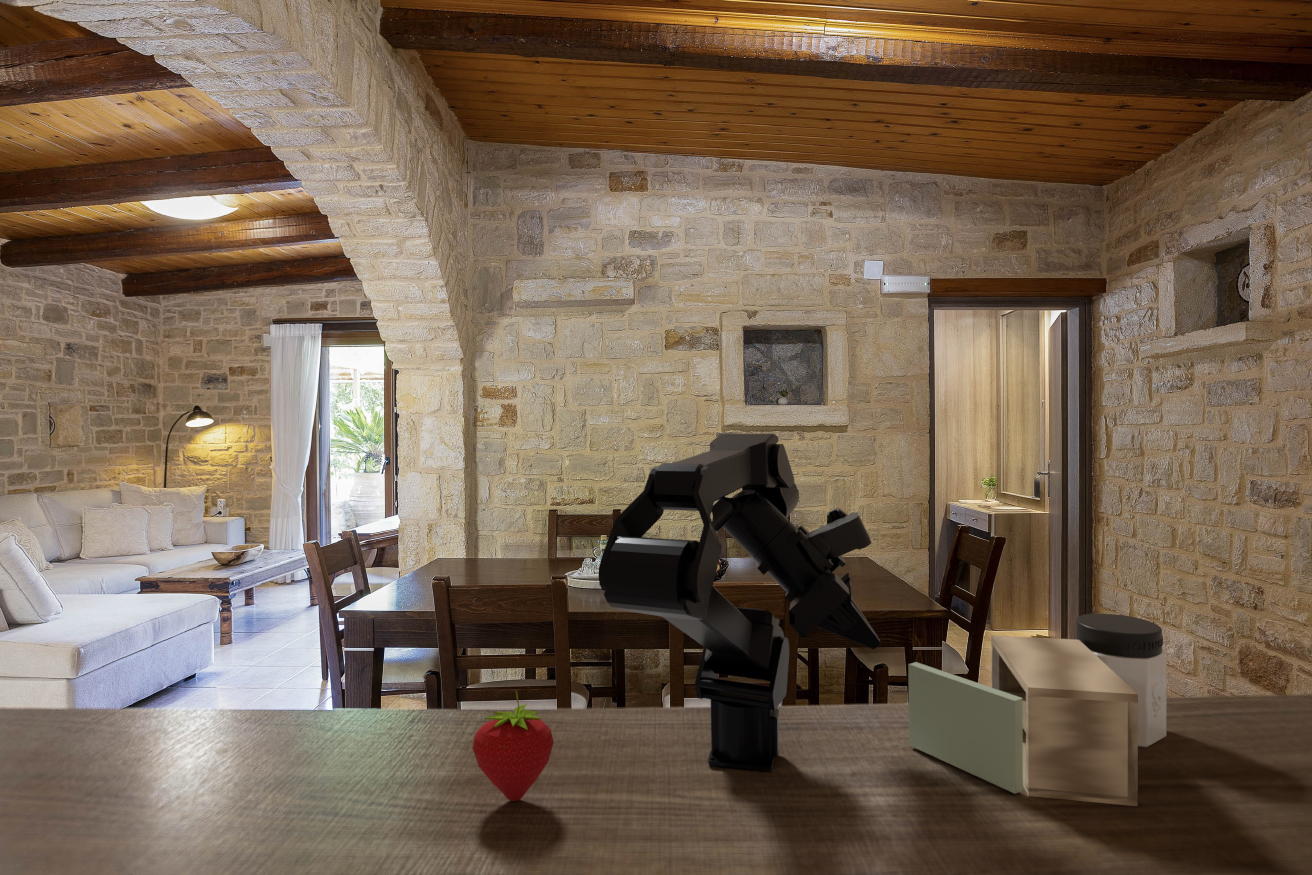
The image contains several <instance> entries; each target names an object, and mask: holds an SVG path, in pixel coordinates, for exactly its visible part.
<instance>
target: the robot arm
mask: <svg viewBox="0 0 1312 875" xmlns="http://www.w3.org/2000/svg"><path fill="white" fill-rule="evenodd" d="M738 490H741V491H739V492H737V493H735V494H734V495H733V496H732V497H727V496H729V495H730V494H733V493H734V492H736V491H738ZM799 499H800V491H799V489H798V487H797V484H796V483H795V478H794V474H793V471H792V466H791V464H790V460H789V457H788V454H787V450H786V447H785V445H784V443H779V437H778V435H777V434H775V433H721V434H719V435H717V437H715V438H714V439H713V440H711V442H710V443H709V451H705V452H701V453H700V454H696V455H693V456H689V457H687V458H685V459H680V460H678V461H675V462H668V463H667V462H662V463H661V464H660V465H655V466H653V467H652V468H651V469H650V472H649V474H648V477H647V480H646V483H645V486H644V489H643V491H642V492H641V493H640V494H639V495H638V496H637V497H636V498H635V499H634V500H633V501H632V502H631V503H629V505H628V506H627V507H626V508H625V509H624V510H623V511H622V512H621V513H620V514H619V515H618V516H617V517H616V519H615V520H614V522H613V524H612V527H611V530H610V533H609V536H608V539H607V541H606V545H605V546H604V550H603V553H602V556H601V559H600V561H599V567H598V583H599V586H600V588H601V591H602V592H603V594H602V595H603V597H604V599H605V601H606V603H607V604H608V605H609V606H610V607H611V608H613V609H615V610H621V611H626V612H630V613H637V614H642V615H643V614H645V615H651V616H657V617H661V618H663V619H665V620H666V621H667V622H669V623H670V624H672V626H674V627H675V628H677V629H678V630H680V631H681V632H682V633H684V634H685V635H687V636H689V637H690V638H691V639H693V640H694V641H695V642H697V643H698V644H699V645H701V646H703V647H702V653H701V656H700V657H701V658H700V661H699V665H698V669H697V672H696V676H695V679H694V680H695V681H694V687H695V688H694V689H695V692H696V699H700V700H703V699H705V700H710V747H711V748H710V753H709V755H708V758H707V764H708V765H709V766H713V767H724V768H725V767H726V768H736V769H737V768H738V769H745V770H757V771H766V772H767V771H769V772H770V771H771V770H773V766H774V760H775V759H776V758H777V757H779V750H780V710H779V709H778V707H779V706H780V704H781V703H782V701H783V700H784V698H785V697H786V696H787V690H788V689H787V688H788V676H789V662H790V643H789V640H788V639H789V638H788V637H785V635H784V634H785V633H784V631H783V629H782V628H781V627H780V626H779V625H780V622H781V620H780V619H779V618H775V616H774V614H773V613H772V612H771V611H769V610H768V609H760V608H748V607H738V606H734V605H733V603H731V602H730V601H729V600H728V599H727V598H726V597H725V596H724V595H723V594H722V593H721V592H720V591H718V589H717V588H715V586H714V582H715V579H716V575H717V570H718V567H719V562H720V558H721V554H722V544H721V541H720V539H719V537H718V534H717V532H720V530H721V529H723V530H725V532H726V533H727V534H728V535H729V536H730V537H732V538H733V539H734V541H735V542H736V543H737V544H738V545H739V546H740V547H741V548H742V549H743V550H744V551H745V552H747V555H749V556H750V557H751V558H752V559H753V560H754V561H755V562H756V563H757V564H758V565H757V568H756V569H757V570H759V572H760V573H761V574H762V575H763V576H764V575H766V574H768V575H769V576H770V577H771V578H772V579H773V581H775V582H776V583H777V584H778V586H780V587H781V588H782V589H783V590H784V591H785V596H784V597H785V598H786V599H787V600H788V601H789V602H790V606H789V610H788V613H789V614H788V621H789V622H788V624H789V625H790V627H792V629H793V630H795V631H796V632H797V633H798V635H800V636H801V637H802V638H805V637H808V635H809V634H811V633H812V632H813V631H814V630H815V628H819V629H821V630H824V631H827V632H829V633H831V634H833V635H834V634H835V635H836V636H840V637H842V638H845V639H847V640H850V641H852V642H854V643H857V644H859V645H862V646H864V647H865V648H869V649H871V650H875V649H877V648H878V647H879V646H880V645H881V640H880V638H879V637H878V634H877V633H876V632H875V630H874V629H873V627H872V626H871V624H870V623H869V621H868V620H867V617H865V615H864V613H863V612H862V611H861V609H860V608H859V606H858V604H857V603H856V601H855V599H854V598H853V597H852V582H851V574H850V572H847V573H845V574H844V575H843V576H842V577H841V578H840V577H839V576H838V574H836V573H834V571H836V569H838V568H839V567H841V568H843V567H845V566H846V564H847V560H846V558H844V557H843V556H844V555H846V554H848V553H850V552H852V551H854V550H855V551H856V550H858V551H860V550H863V549H865V548H866V547H869V546H870V545H871V544H872V541H871V537H870V535H869V533H868V531H867V529H866V526H865V525H864V523H863V521H862V518H861V516H860V514H859V512H854V511H852V512H850V513H849V514H848V513H846V511H844V510H842V509H841V508H840V507H837V508H835V509H832V510H829V511H828V512H826V524H825V525H824V524H822V525H821V526H819V527H818V528H816V529H814V530H812V531H810V532H809V531H808V530H807V529H806V528H805V527H804V526H803V525H798V524H796V525H794V523H792V521H790V519H789V516H790V515H791V514H792V513H793V511H794V510H795V509H796V508H797V506H798V503H799V501H800V500H799ZM667 510H668V511H689V512H699V515H700V518H701V522H702V524H703V525H702V526H703V527H702V530H701V534H700V538H699V541H698V540H696V539H695V540H693V539H692V540H691V539H680V538H679V539H678V538H661V537H645V536H644V535H645V534H646V533H647V532H648V531H649V530H650V529H651V528H652V527H653V526H654V525H655V524H656V523H657V522H658V521H659V520H660V519H661V517H662V516H663V514H664V511H667ZM711 515H712V516H711ZM711 517H712V518H711ZM718 675H723V676H729V677H736V678H737V677H738V678H745V679H752V680H758V681H766V682H769V685H762V684H757V683H749V682H744V681H735V680H728V679H722V678H718Z"/></svg>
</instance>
